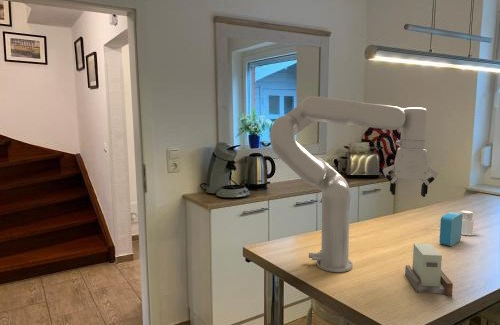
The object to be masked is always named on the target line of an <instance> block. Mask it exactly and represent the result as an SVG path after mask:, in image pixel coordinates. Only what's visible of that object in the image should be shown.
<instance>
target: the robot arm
mask: <svg viewBox="0 0 500 325" xmlns="http://www.w3.org/2000/svg"><path fill="white" fill-rule="evenodd" d="M427 121H428V110H427V109H426V108H424V107H405V108H403V107H399V106H393V105H386V104H376V103H368V102H360V101H356V100H352V99H351V100H350V99H344V98H343V99H341V98H335V97H325V96H315V95H312V96H311V95H310V96H307V97H305V98H304V99H303V100H302V102H300V104H298V105H297V106H296V107H294V108H293V109H291V110H290V111H289V112H287V113H285V114H284V115H281V116H279V117H277V118H276V119H275V120H274V121H273V124H272V126H271V128H270V133H269V134H270V135H269V139H270V140H269V141H270V145H271V147H272V150H273V151H274V153H275V154H276V155H277V157H278V158H279V159H280V160H282V162H283V163H284V164H285V165H287V166H288V168H290V169H291V171H293V172H294V173H295V174H296V175H297V176H298V177H299V178H301V179H302V181H303V182H304V183H306V184H308V185H311V186H315V187H316V188H317V189H318V190H319V191H320V192H321V248H320V251H319V252H308V259H311V260H312V261H316V265H317V267H318V268H319V269H321V270H323V271H325V272H331V273H345V272H348V271H350V270H352V269H353V262H352V261H351V260H350V259H349V248H350V246H349V243H350V242H349V238H350V209H351V195H352V194H351V189H350V186H349V183H348V181H347V180H346V179H345V178H344V177H343V176H342V175H341V173H339V172H338V171H336V169H335V168H333V167H332V165H330V164H329V163H328V162H326V161H325V160H324V159H323V158H321V157H319V156H318V155H317V156H316V155H313V154H311V153H310V152H309V151H308V150H307V149H306V148H305V147H304V146H303V145H301V144H300V143H299V142H298V141H297V140H296V137H295V136H297V135H298V134H299V133H300V132H302V131H304V130H305V129H306V128H308V127H309V126H310V125H312V124H313V123H315V122H320V123H326V124H327V123H328V124H335V125H336V124H337V125H344V126H348V127H349V126H351V127H355V126H356V127H365V128H374V129H381V130H389V131H395V130H398V129H400V128H401V130H400V139H399V140H396V141H395V146H398V147H397V149H396V150H397V151H396V152H395V153H396V154H395V158H394V164H392V165H390V166H388V167H385V168H383V169H382V172H383V175H384V176H385V178H386V179H387V180H388V181H389V192H390V193H391V195H393V196H395V195H396V186H397V185H396V181H397V180H398V179H399V180H401V179H402V180H412V181H413V180H414V181H415V180H417V181H422V183H421V190H420V196H422V197H423V198H425V197H426V195H428V189H429V186H430V184H431V183H432V182H434V181H435V179H436V178H437V176H438V175H439V172H437V171H436V170H434V169H432V168H430V167H429V164H428V162H429V160H428V159H429V158H428V149H425V144H426V133H427V123H428V122H427ZM391 171H393V175H392V176H391V175H390V173H389V172H391ZM428 172H429V173H430V174H431V175H430V176H429V177H428ZM427 177H428V178H427Z"/></svg>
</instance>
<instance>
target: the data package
mask: <svg viewBox="0 0 500 325" xmlns="http://www.w3.org/2000/svg"><path fill="white" fill-rule="evenodd" d="M439 227H440V228H439V240H438V241H439V244H440V245H444V246H448V247H453V246H455V245H456V244H457V243H458V242H459V243H460V241H461V239H462V234H461V231H462V214H461V212H460V213H459V212H454V211H450V212H447V213H446V214H444V215H442V216H441V217H440V225H439Z"/></svg>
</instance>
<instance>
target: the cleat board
mask: <svg viewBox="0 0 500 325" xmlns="http://www.w3.org/2000/svg"><path fill="white" fill-rule="evenodd" d="M404 274H405V276H406V278H407V279H408V282H409V283H410V284H411V286H412V287H413V289H414V291H415V292H416V293H426V294H444V295H445V296H446V297H452V296H453V288H454V283H453V282H452V281H451V280H450V278H449V277H448V276H447V275H446V274H445V272H443V270H442V269H441V278H440V287H438V286H421V282H420V280H419V279H418V277H417V276H416V274H415V273H414V271H413V270H412V267H411V266H410V265H409V264H405V273H404Z"/></svg>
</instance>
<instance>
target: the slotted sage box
mask: <svg viewBox="0 0 500 325" xmlns="http://www.w3.org/2000/svg"><path fill="white" fill-rule="evenodd" d="M412 248H413V250H412V252H413V253H412V267H411V268H412V270H413V271H414V273H415V274H416V276H417V277H418V279H419V280H420V282H421V286H438V287H440V278H441V270H442V259H443V257H442V256H443V255H442V254H441V253H440V252H439V251H438V250H437V249H436V248H435V246H434V245H433V244H432V243H415V242H414V243H413V247H412Z"/></svg>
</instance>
